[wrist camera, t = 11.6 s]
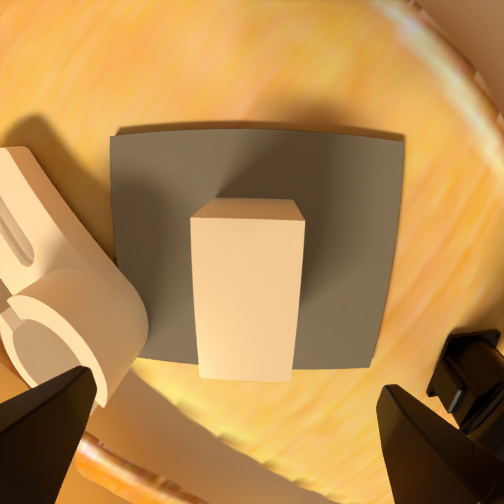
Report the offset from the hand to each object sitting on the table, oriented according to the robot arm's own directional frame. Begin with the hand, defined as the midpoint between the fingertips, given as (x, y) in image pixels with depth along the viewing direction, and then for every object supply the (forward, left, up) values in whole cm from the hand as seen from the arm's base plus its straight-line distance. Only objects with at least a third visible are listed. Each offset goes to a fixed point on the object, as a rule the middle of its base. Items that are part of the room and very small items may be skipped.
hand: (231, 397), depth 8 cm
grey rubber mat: (0, 0, -12) cm, 12 cm away
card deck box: (0, 0, -11) cm, 11 cm away
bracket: (+15, 0, -12) cm, 19 cm away
